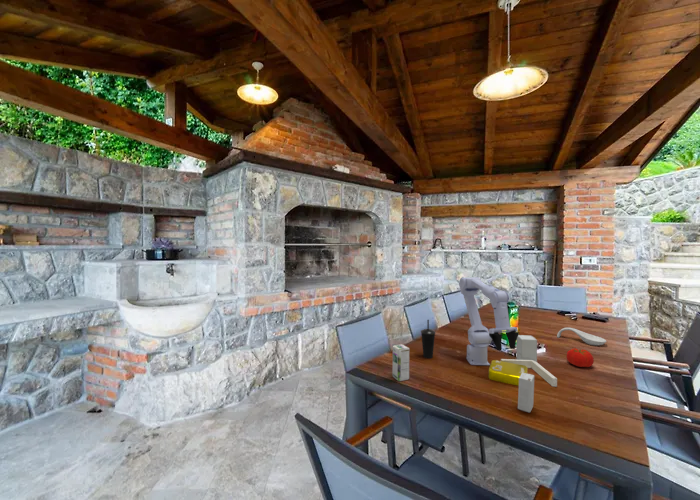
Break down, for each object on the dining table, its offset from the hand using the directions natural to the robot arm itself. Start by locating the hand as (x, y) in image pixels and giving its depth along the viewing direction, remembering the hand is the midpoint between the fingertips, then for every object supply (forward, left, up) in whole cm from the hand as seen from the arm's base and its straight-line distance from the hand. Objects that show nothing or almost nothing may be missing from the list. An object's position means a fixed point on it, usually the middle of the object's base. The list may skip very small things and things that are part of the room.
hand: (505, 349), depth 132 cm
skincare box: (-1, -21, -15) cm, 25 cm away
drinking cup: (-30, +25, -15) cm, 42 cm away
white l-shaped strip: (+12, +7, -14) cm, 20 cm away
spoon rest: (+66, +57, -15) cm, 88 cm away
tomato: (+43, +21, -15) cm, 50 cm away
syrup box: (-46, -1, -15) cm, 48 cm away
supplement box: (+19, +23, -15) cm, 33 cm away
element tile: (+3, +5, -15) cm, 16 cm away
